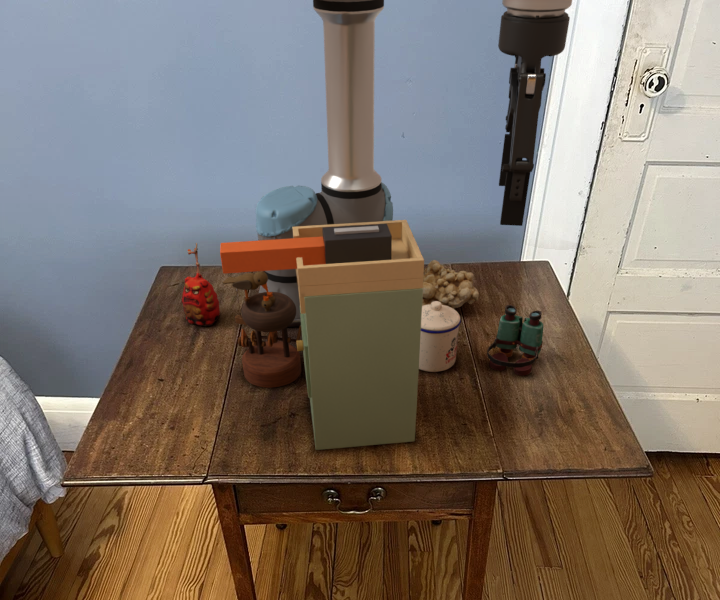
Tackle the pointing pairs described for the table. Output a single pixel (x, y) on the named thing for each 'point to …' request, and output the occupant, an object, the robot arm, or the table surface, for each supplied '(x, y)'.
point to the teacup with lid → (438, 337)
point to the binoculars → (517, 341)
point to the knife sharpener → (309, 249)
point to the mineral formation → (447, 286)
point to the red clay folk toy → (199, 298)
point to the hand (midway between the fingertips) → (509, 204)
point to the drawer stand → (362, 342)
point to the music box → (268, 314)
